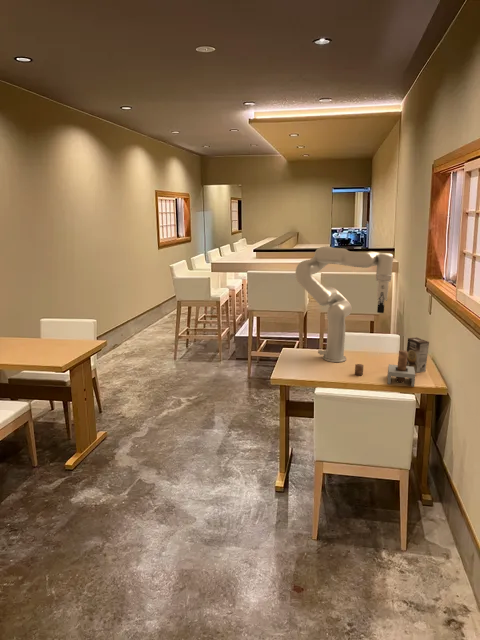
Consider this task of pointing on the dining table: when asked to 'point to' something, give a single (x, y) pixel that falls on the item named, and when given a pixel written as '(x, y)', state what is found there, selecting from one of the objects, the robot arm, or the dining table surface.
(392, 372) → the bridge
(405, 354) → the long pin
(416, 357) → the coffee box
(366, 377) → the dining table surface
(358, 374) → the short pin
